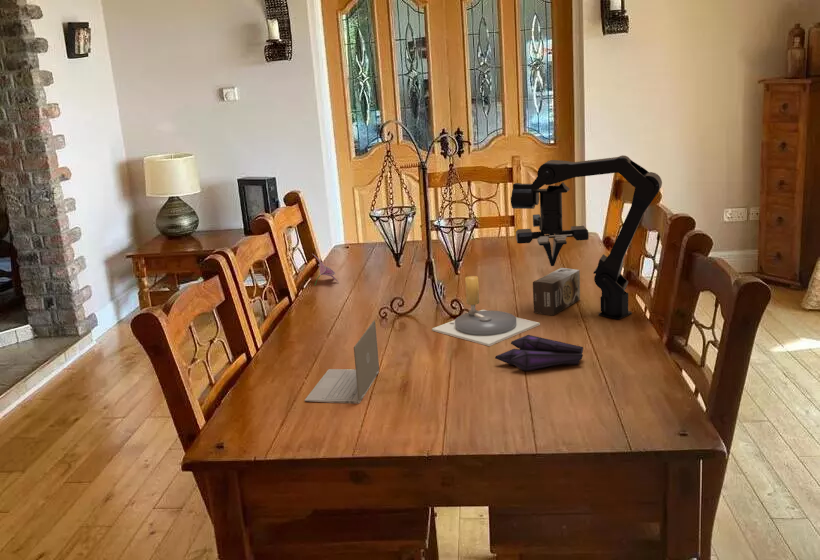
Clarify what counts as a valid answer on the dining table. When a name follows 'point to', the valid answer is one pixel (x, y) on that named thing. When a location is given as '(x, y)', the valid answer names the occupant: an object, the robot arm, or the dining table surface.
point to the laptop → (350, 374)
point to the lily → (325, 270)
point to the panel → (486, 339)
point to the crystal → (541, 353)
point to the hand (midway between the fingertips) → (552, 265)
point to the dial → (482, 315)
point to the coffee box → (556, 291)
